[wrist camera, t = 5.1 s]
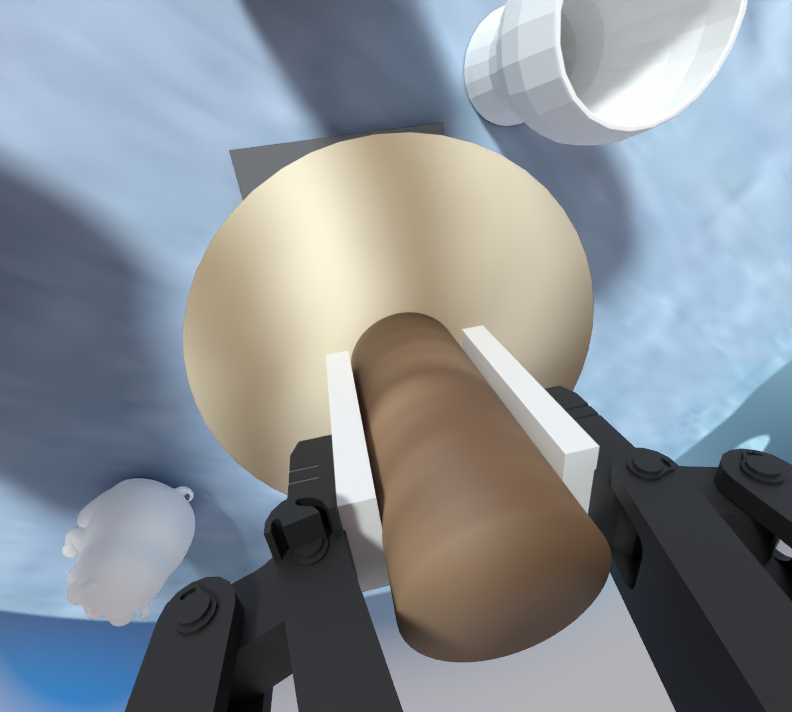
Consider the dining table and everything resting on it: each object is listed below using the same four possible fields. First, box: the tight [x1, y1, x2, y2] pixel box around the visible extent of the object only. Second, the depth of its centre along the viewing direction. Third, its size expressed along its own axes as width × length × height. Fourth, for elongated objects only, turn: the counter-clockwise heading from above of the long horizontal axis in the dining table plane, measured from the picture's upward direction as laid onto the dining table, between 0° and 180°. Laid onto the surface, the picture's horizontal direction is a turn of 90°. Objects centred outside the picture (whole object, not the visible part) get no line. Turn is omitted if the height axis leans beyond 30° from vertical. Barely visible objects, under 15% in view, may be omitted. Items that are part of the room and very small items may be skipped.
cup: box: [464, 0, 748, 145], centre depth 25 cm, size 11×11×15 cm
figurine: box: [62, 478, 195, 626], centre depth 38 cm, size 10×10×12 cm
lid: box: [183, 132, 611, 662], centre depth 12 cm, size 15×15×10 cm
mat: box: [229, 122, 443, 200], centre depth 35 cm, size 16×16×1 cm
